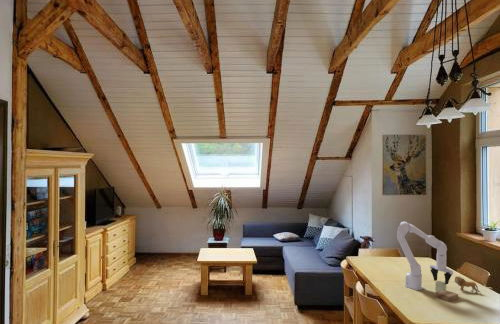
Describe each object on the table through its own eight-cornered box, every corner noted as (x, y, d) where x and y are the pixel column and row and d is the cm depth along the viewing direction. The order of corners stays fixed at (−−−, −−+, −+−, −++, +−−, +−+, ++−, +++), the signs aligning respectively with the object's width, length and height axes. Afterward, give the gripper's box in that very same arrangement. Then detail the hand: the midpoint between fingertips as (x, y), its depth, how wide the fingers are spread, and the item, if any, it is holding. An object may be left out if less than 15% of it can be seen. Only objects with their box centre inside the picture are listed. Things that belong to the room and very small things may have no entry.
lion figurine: (454, 290, 242) (455, 277, 242) (453, 288, 247) (454, 274, 247) (480, 294, 237) (481, 280, 236) (479, 291, 241) (479, 277, 241)
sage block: (435, 290, 242) (435, 281, 242) (439, 289, 244) (439, 280, 244) (441, 293, 238) (442, 283, 238) (446, 292, 240) (446, 282, 240)
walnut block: (435, 297, 231) (435, 291, 231) (444, 295, 235) (444, 289, 235) (449, 302, 223) (449, 296, 223) (458, 300, 227) (458, 294, 227)
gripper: (455, 263, 236) (455, 284, 236) (434, 257, 249) (434, 278, 249) (449, 264, 233) (449, 286, 233) (428, 259, 245) (427, 279, 245)
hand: (441, 282), depth 241 cm, fingers open, 7 cm apart
